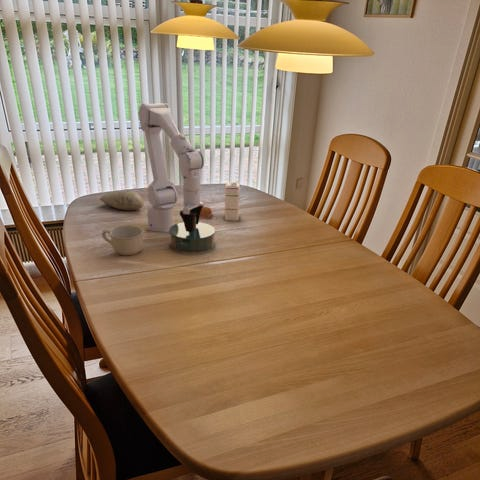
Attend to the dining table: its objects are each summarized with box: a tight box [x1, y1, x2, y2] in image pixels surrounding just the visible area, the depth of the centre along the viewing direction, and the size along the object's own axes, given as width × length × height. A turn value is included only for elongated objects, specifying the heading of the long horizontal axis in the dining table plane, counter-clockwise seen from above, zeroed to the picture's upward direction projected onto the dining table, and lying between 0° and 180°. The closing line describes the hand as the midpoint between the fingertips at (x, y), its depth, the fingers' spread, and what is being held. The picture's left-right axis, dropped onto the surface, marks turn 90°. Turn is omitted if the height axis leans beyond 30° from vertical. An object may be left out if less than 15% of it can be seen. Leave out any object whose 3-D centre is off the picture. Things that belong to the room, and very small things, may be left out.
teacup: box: [101, 224, 144, 256], centre depth 150 cm, size 14×11×8 cm
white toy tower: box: [224, 181, 241, 221], centre depth 181 cm, size 6×6×14 cm
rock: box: [99, 190, 145, 211], centre depth 188 cm, size 8×11×20 cm
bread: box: [200, 206, 213, 219], centre depth 185 cm, size 8×5×4 cm, turn 79°
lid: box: [168, 216, 216, 240], centre depth 155 cm, size 16×16×6 cm
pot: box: [170, 234, 215, 254], centre depth 158 cm, size 15×21×6 cm
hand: (192, 227), depth 156 cm, fingers open, 7 cm apart
